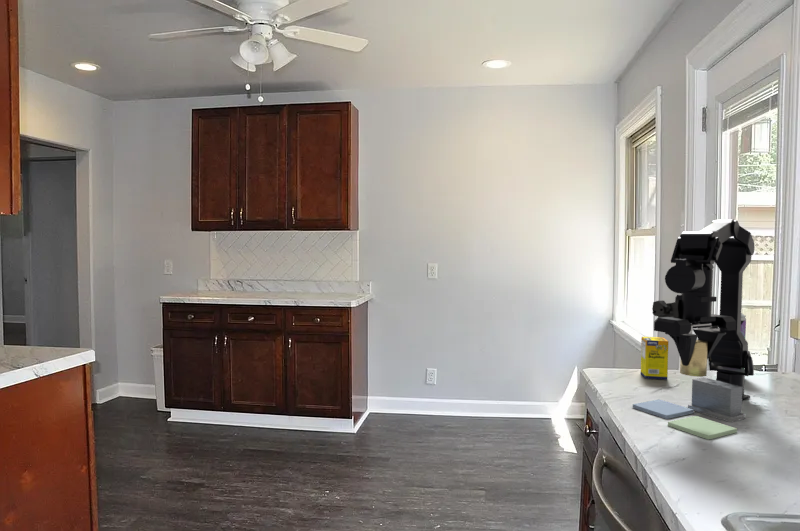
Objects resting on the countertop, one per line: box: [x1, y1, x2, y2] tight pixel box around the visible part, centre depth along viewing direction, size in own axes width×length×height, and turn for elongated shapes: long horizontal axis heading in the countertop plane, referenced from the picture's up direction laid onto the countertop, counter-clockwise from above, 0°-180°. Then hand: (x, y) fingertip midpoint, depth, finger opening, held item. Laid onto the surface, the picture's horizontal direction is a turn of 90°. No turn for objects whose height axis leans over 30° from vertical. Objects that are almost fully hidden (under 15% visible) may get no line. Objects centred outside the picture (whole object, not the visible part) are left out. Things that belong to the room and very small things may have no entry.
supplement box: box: [640, 336, 669, 381], centre depth 158 cm, size 6×6×11 cm
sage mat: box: [667, 415, 738, 440], centre depth 115 cm, size 9×9×1 cm
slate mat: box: [632, 398, 695, 420], centre depth 128 cm, size 9×9×1 cm
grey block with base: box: [687, 376, 746, 423], centre depth 125 cm, size 5×10×7 cm, turn 27°
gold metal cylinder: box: [679, 339, 708, 378], centre depth 119 cm, size 5×5×7 cm
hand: (693, 364), depth 119 cm, fingers closed on gold metal cylinder, 5 cm apart
